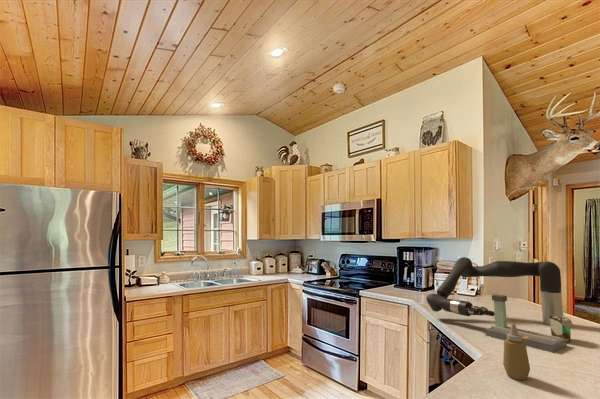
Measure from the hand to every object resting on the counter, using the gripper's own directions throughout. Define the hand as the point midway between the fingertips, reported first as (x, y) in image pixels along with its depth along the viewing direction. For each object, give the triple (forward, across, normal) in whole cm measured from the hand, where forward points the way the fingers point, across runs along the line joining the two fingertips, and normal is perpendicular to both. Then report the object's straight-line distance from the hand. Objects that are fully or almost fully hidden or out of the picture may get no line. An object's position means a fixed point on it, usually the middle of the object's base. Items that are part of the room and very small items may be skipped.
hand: (493, 313), depth 168 cm
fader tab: (+3, 0, +6) cm, 7 cm away
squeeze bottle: (+30, -44, +10) cm, 54 cm away
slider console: (+13, 0, +10) cm, 16 cm away
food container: (+23, +16, +10) cm, 30 cm away
